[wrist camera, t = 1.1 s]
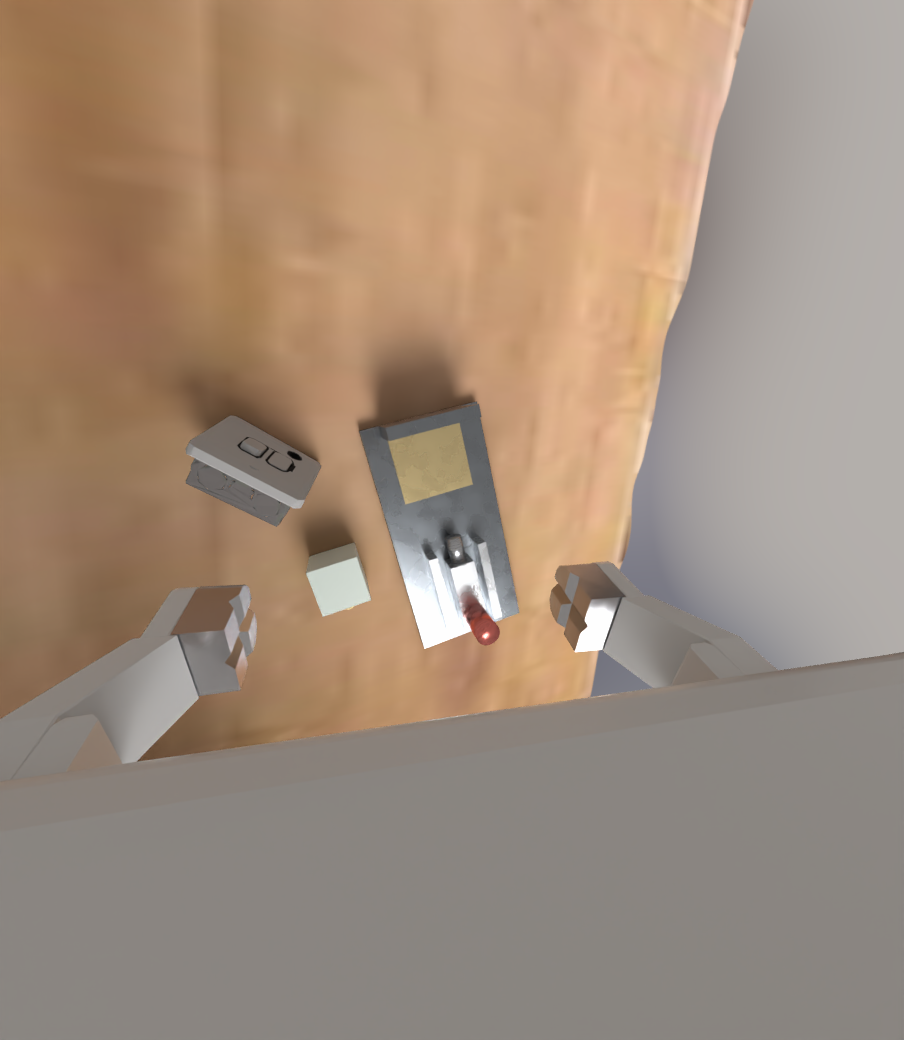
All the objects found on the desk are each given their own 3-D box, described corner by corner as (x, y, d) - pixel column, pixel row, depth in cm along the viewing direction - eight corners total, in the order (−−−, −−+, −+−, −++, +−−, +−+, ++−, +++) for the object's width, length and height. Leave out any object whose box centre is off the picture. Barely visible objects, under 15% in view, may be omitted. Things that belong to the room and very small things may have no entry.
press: (516, 609, 52) (541, 636, 45) (423, 644, 49) (436, 679, 42) (473, 401, 43) (498, 398, 37) (358, 430, 41) (363, 433, 34)
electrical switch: (323, 464, 41) (314, 485, 32) (299, 505, 41) (284, 536, 33) (232, 412, 37) (195, 421, 29) (208, 458, 38) (165, 480, 29)
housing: (370, 589, 45) (374, 609, 41) (327, 604, 44) (326, 625, 40) (354, 542, 43) (356, 556, 39) (309, 556, 42) (306, 573, 38)
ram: (479, 610, 49) (502, 641, 42) (459, 618, 48) (479, 650, 41) (460, 529, 45) (482, 549, 39) (438, 537, 45) (456, 558, 38)
